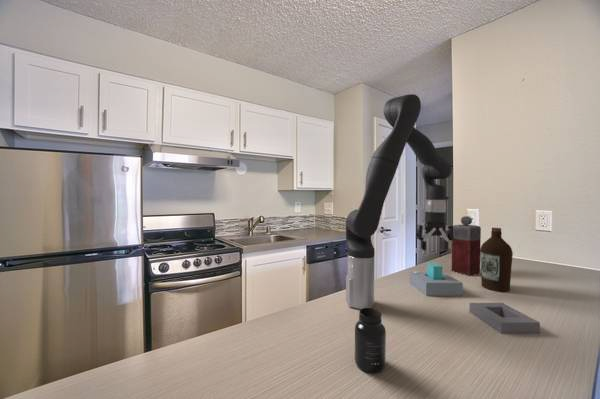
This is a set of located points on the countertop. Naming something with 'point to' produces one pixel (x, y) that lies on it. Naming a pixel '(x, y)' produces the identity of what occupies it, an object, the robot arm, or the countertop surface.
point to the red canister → (466, 247)
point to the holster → (504, 318)
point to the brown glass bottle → (496, 263)
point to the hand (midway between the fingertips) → (434, 250)
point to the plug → (434, 271)
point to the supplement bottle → (370, 341)
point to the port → (436, 285)
